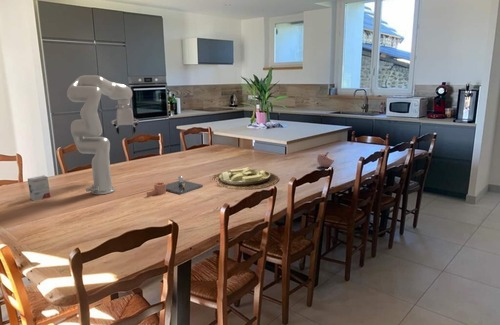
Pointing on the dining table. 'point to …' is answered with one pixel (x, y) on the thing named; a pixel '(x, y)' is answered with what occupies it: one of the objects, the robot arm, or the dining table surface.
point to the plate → (246, 179)
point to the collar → (157, 189)
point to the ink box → (38, 187)
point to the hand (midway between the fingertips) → (126, 133)
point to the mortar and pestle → (324, 160)
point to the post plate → (182, 186)
